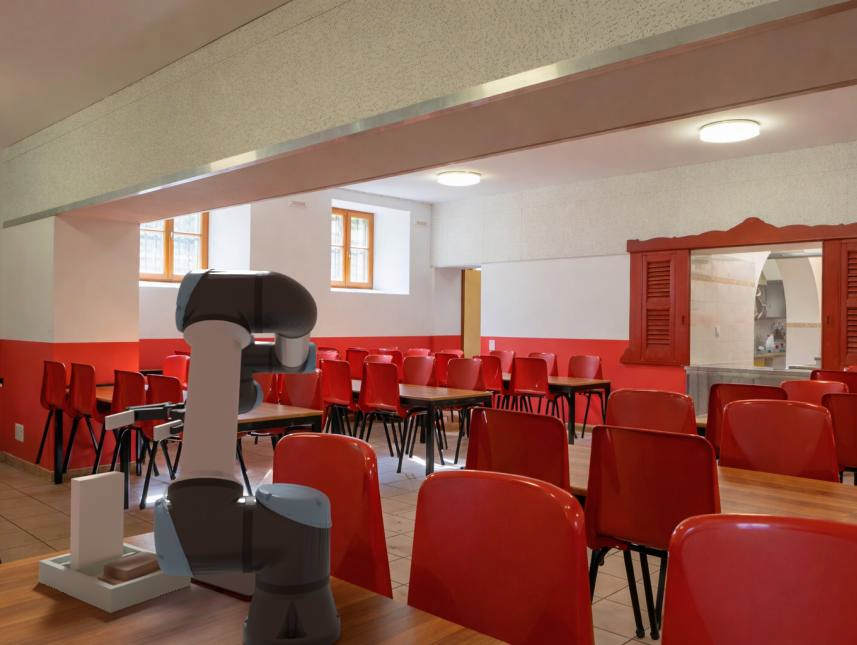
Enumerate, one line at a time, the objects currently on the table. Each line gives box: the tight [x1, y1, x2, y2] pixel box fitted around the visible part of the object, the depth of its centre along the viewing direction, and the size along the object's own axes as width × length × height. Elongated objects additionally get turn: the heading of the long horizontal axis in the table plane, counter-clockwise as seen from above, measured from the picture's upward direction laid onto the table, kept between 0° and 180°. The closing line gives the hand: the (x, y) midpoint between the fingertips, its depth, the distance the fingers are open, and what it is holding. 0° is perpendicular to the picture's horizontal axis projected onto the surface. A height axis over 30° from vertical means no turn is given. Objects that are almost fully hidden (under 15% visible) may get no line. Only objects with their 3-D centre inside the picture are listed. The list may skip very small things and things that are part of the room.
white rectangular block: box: [69, 470, 125, 569], centre depth 138 cm, size 3×9×18 cm, turn 145°
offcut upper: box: [104, 551, 160, 582], centre depth 131 cm, size 6×9×2 cm, turn 153°
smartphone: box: [191, 573, 255, 602], centre depth 138 cm, size 12×2×25 cm
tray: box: [38, 541, 192, 614], centre depth 134 cm, size 24×16×4 cm, turn 55°
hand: (130, 428), depth 142 cm, fingers open, 13 cm apart
